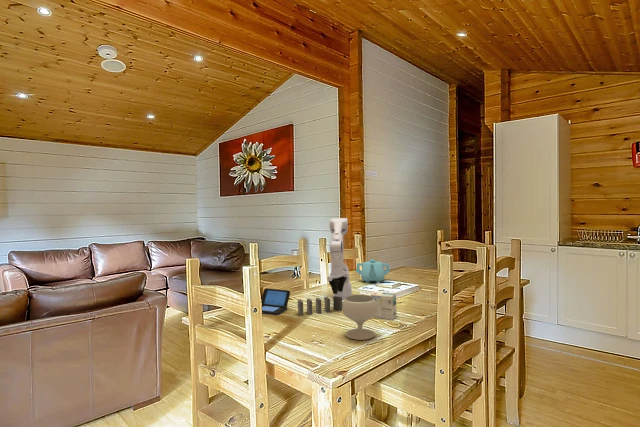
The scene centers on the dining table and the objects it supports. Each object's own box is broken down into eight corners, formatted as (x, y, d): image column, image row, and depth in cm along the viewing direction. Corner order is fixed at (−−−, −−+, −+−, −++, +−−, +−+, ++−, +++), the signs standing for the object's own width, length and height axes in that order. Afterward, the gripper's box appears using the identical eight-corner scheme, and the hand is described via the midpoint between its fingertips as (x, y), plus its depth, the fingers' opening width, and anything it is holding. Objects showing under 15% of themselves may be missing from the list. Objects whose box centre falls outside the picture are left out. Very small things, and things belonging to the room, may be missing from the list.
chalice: (353, 344, 142) (352, 305, 141) (337, 332, 155) (336, 296, 154) (384, 337, 148) (383, 300, 147) (366, 326, 160) (365, 292, 160)
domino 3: (319, 310, 185) (318, 297, 185) (321, 313, 181) (321, 299, 181) (315, 311, 185) (315, 297, 184) (318, 313, 180) (318, 300, 180)
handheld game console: (250, 312, 186) (249, 294, 185) (264, 305, 198) (264, 287, 197) (278, 316, 179) (277, 296, 179) (291, 308, 192) (290, 290, 191)
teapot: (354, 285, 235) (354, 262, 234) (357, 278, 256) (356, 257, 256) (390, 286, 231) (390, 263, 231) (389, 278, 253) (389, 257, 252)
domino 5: (335, 308, 187) (335, 296, 187) (342, 310, 185) (342, 297, 185) (333, 309, 186) (333, 296, 186) (340, 311, 184) (340, 297, 183)
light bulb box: (396, 315, 175) (396, 292, 174) (393, 320, 168) (393, 296, 168) (374, 313, 179) (374, 290, 179) (370, 317, 173) (370, 294, 172)
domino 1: (301, 312, 183) (300, 299, 182) (303, 315, 178) (302, 301, 178) (298, 313, 182) (297, 299, 182) (300, 315, 178) (299, 302, 178)
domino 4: (327, 309, 186) (327, 296, 186) (330, 312, 182) (330, 299, 182) (324, 310, 186) (324, 297, 186) (327, 312, 182) (326, 299, 181)
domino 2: (310, 311, 184) (309, 298, 184) (312, 314, 180) (312, 300, 179) (307, 312, 183) (306, 298, 183) (309, 314, 179) (308, 301, 179)
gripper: (338, 262, 193) (338, 288, 193) (321, 267, 181) (322, 294, 182) (350, 263, 189) (350, 290, 189) (334, 268, 177) (334, 296, 178)
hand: (337, 292), depth 185 cm, fingers open, 4 cm apart
